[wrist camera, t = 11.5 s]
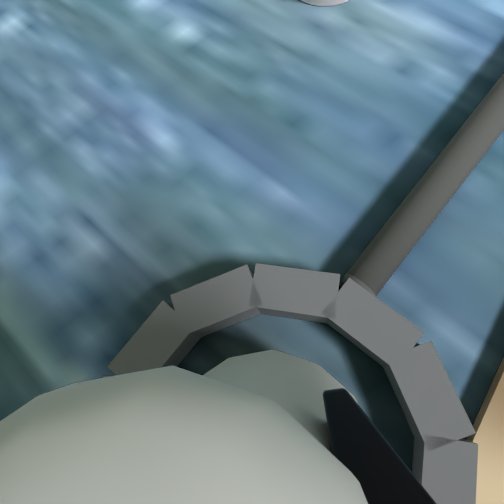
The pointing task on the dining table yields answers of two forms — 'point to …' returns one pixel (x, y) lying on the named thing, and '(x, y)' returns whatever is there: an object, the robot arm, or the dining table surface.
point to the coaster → (491, 443)
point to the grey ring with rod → (353, 314)
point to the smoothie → (324, 2)
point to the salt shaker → (180, 438)
